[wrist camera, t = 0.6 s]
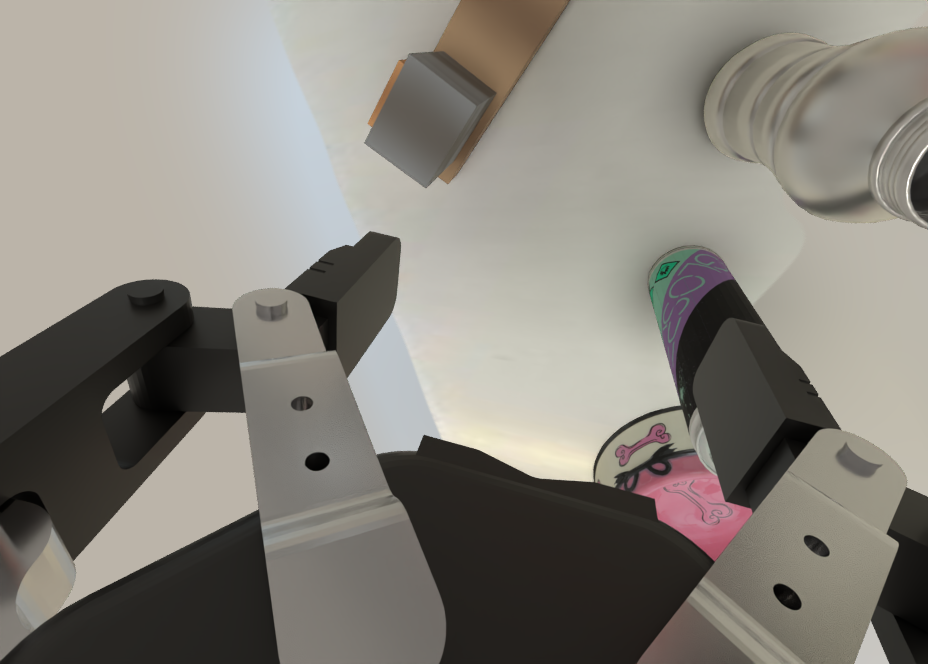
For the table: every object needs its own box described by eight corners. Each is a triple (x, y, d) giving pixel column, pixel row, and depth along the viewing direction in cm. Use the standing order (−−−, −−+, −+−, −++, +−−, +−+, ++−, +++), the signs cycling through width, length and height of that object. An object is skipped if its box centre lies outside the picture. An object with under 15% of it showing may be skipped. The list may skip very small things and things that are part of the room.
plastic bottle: (672, 111, 31) (785, 195, 14) (766, 5, 27) (1069, -52, 10) (744, 174, 32) (929, 322, 15) (843, 80, 28) (1232, 138, 11)
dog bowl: (719, 366, 40) (743, 421, 34) (849, 493, 43) (890, 562, 38) (555, 464, 49) (552, 520, 43) (674, 562, 53) (685, 625, 47)
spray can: (699, 230, 34) (816, 413, 17) (741, 284, 35) (887, 502, 19) (632, 275, 37) (678, 471, 20) (674, 324, 38) (749, 546, 21)
